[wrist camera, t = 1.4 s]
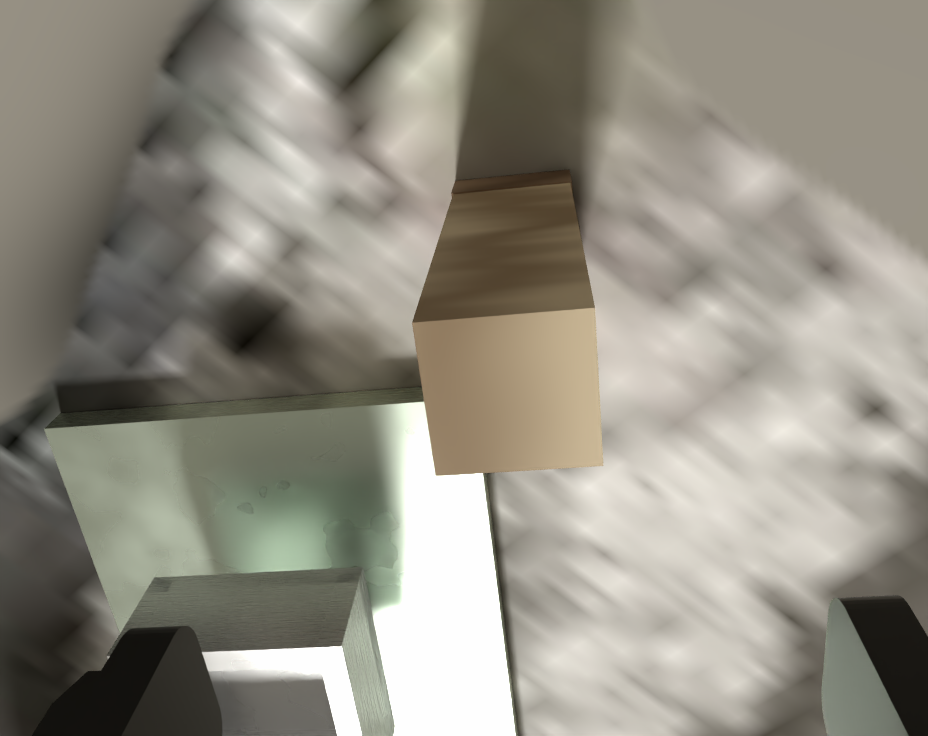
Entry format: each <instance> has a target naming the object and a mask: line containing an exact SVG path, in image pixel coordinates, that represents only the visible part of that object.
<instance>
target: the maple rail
mask: <svg viewBox="0 0 928 736" xmlns="http://www.w3.org/2000/svg"><path fill="white" fill-rule="evenodd" d="M451 194H452V200H451V203H450V206H449V209H448V212H447V215H446V218H445V221H444V225H443V228H442V231H441V234H440V237H439V240H438V243H437V247H436V250H435V253H434V256H433V259H432V262H431V265H430V268H429V272H428V275H427V278H426V281H425V284H424V287H423V290H422V294H421V297H420V300H419V303H418V306H417V309H416V312H415V315H414V319H413V322H412V325H413V332H414V338H415V345H416V351H417V358H418V364H419V371H420V378H421V384H422V391H423V397H424V404H425V411H426V417H427V424H428V430H429V437H430V443H431V450H432V457H433V463H434V470H435V476H446V475H463V474H479V473H495V472H511V471H527V470H543V469H560V468H576V467H592V466H603V451H602V432H601V413H600V395H599V376H598V357H597V338H596V320H595V306H594V301H593V296H592V291H591V286H590V280H589V275H588V270H587V265H586V260H585V255H584V250H583V245H582V240H581V235H580V230H579V225H578V219H577V214H576V209H575V204H574V199H573V192H572V179H571V175H570V170H559V171H549V172H539V173H529V174H519V175H509V176H499V177H489V178H479V179H469V180H459V181H455V183H454V186H453V189H452V192H451Z"/></svg>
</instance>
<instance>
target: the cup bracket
mask: <svg viewBox="0 0 928 736" xmlns="http://www.w3.org/2000/svg"><path fill="white" fill-rule="evenodd" d="M44 430H45V433H46V435H47V438H48V441H49V444H50V446H51V449H52V452H53V454H54V457H55V460H56V462H57V465H58V468H59V471H60V473H61V476H62V479H63V481H64V484H65V487H66V489H67V492H68V495H69V497H70V500H71V503H72V506H73V508H74V511H75V514H76V516H77V519H78V522H79V524H80V527H81V530H82V533H83V535H84V538H85V541H86V543H87V546H88V549H89V551H90V554H91V557H92V560H93V562H94V565H95V568H96V570H97V573H98V576H99V578H100V581H101V584H102V586H103V589H104V592H105V595H106V597H107V600H108V603H109V605H110V608H111V611H112V613H113V616H114V619H115V622H116V624H117V627H118V630H119V632H120V635H119V636H118V638H117V640H116V641H115V643H114V645H113V646H112V648H111V649H110V651H109V653H108V654H107V658H108V659H109V657H110V655H111V654H112V652H113V650H114V649H115V647H116V645H117V644H118V642H119V640H120V639H121V637H122V636H123V635H124V634H125V633H126V632H127V631H128V630H129V629H132V628H144V627H166V626H189V627H191V628H192V629H193V630H194V632H195V633H196V636H197V638H198V641H199V644H200V647H201V651H202V654H203V657H204V660H205V663H206V666H207V669H208V672H209V675H210V679H211V682H212V685H213V688H214V691H215V694H216V697H217V700H218V703H219V707H220V710H221V716H222V736H518V729H517V721H516V713H515V705H514V697H513V688H512V680H511V672H510V664H509V656H508V647H507V639H506V631H505V623H504V615H503V606H502V598H501V590H500V582H499V574H498V565H497V557H496V549H495V541H494V533H493V524H492V516H491V508H490V500H489V491H488V483H487V475H486V473H479V474H463V475H446V476H435V470H434V463H433V457H432V450H431V443H430V437H429V430H428V424H427V417H426V411H425V404H424V397H423V391H422V387H413V388H400V389H386V390H373V391H359V392H345V393H332V394H318V395H305V396H291V397H277V398H264V399H250V400H237V401H223V402H209V403H196V404H182V405H169V406H155V407H141V408H128V409H114V410H101V411H87V412H74V413H60V414H59V415H58V416H57V417H56V418H55V419H54V420H53V421H52V422H51V423H50V424H49V425H48V426H47V427H46V428H45V429H44Z"/></svg>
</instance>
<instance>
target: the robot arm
mask: <svg viewBox="0 0 928 736" xmlns="http://www.w3.org/2000/svg"><path fill="white" fill-rule="evenodd" d="M822 708H823V716H824V722H825V726H826V731H827V735H828V736H928V636H927V635H926V633H925V631H924V630H923V628H922V626H921V625H920V623H919V621H918V620H917V618H916V616H915V615H914V613H913V611H912V610H911V608H910V606H909V605H908V603H907V602H906V601H905V600H904V599H903V598H902V597H901V596H898V595H893V596H871V597H849V598H834V599H833V600H832V601H831V603H830V606H829V611H828V622H827V634H826V646H825V658H824V670H823V682H822ZM32 736H222V716H221V710H220V707H219V703H218V700H217V697H216V694H215V691H214V688H213V685H212V682H211V679H210V675H209V672H208V669H207V666H206V663H205V660H204V657H203V654H202V651H201V647H200V644H199V641H198V638H197V636H196V633H195V632H194V630H193V629H192V628H191V627H189V626H166V627H144V628H132V629H129V630H128V631H127V632H126V633H125V634H124V635H123V636H122V637H121V639H120V640H119V642H118V644H117V645H116V647H115V649H114V650H113V652H112V654H111V655H110V657H109V659H108V660H107V662H106V664H105V665H104V667H103V669H102V670H101V671H88V672H86V673H85V674H84V675H83V676H82V677H81V678H80V679H79V680H78V681H77V682H75V683H74V684H73V685H72V686H71V687H70V688H69V689H68V690H67V691H66V692H64V693H63V694H62V695H61V696H60V697H59V698H58V699H57V700H56V701H55V702H53V703H52V705H51V706H50V708H49V710H48V711H47V713H46V714H45V716H44V717H43V719H42V721H41V722H40V724H39V725H38V727H37V728H36V730H35V731H34V733H33V735H32Z"/></svg>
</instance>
